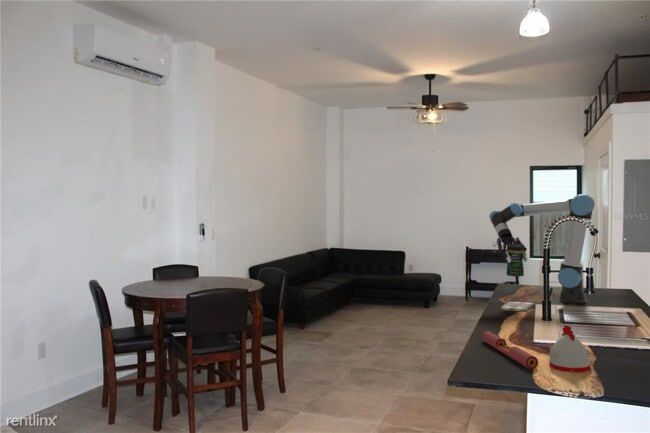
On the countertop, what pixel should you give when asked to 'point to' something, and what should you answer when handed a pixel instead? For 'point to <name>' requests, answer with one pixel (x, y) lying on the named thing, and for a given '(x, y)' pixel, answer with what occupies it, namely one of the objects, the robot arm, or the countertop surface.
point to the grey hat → (569, 353)
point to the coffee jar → (515, 260)
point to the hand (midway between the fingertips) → (518, 261)
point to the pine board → (517, 306)
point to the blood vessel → (510, 350)
